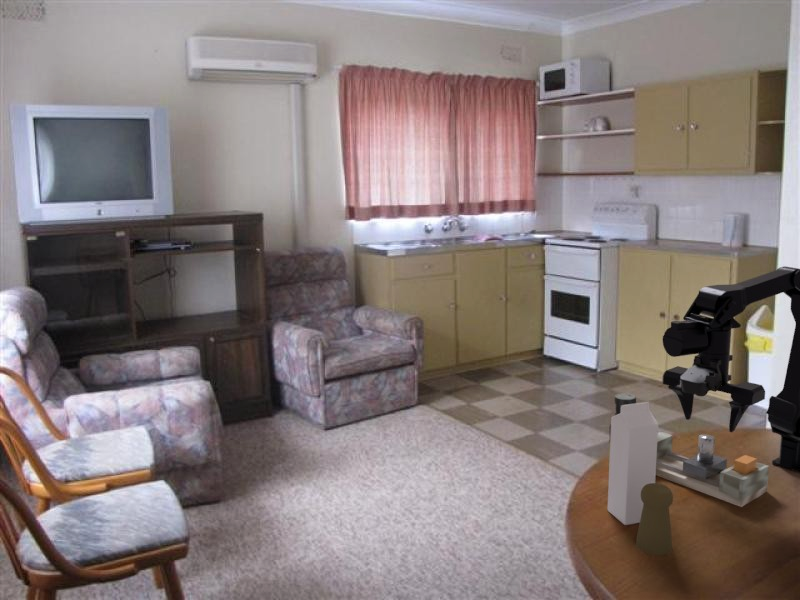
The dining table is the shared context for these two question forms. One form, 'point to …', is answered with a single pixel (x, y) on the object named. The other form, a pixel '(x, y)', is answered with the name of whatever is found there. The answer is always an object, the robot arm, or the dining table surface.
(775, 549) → the dining table surface
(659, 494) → the olive pawn
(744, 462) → the orange block
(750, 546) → the dining table surface
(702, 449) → the carriage
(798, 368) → the robot arm
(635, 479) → the milk
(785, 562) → the dining table surface
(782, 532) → the dining table surface
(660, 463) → the rail track
